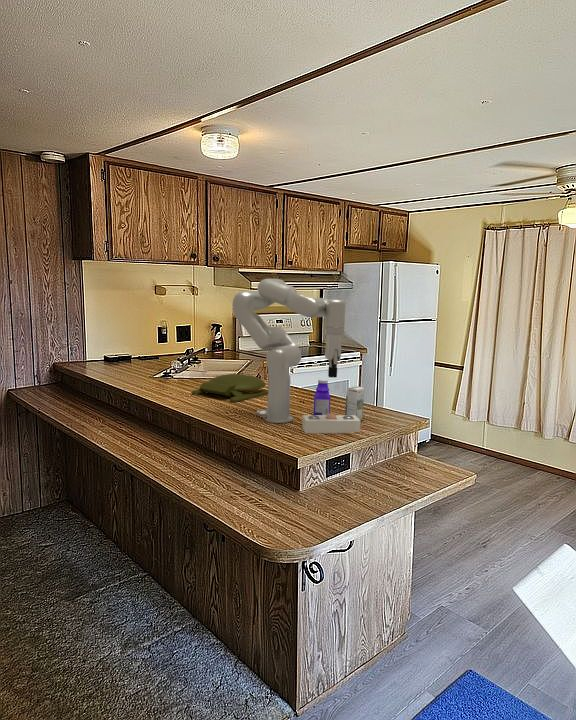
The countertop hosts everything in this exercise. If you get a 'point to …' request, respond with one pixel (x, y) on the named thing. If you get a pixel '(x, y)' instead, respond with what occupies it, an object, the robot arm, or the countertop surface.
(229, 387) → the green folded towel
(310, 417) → the left grey plug
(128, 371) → the countertop surface
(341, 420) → the block
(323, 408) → the bottle
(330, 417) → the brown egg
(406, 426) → the countertop surface
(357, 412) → the syrup box
